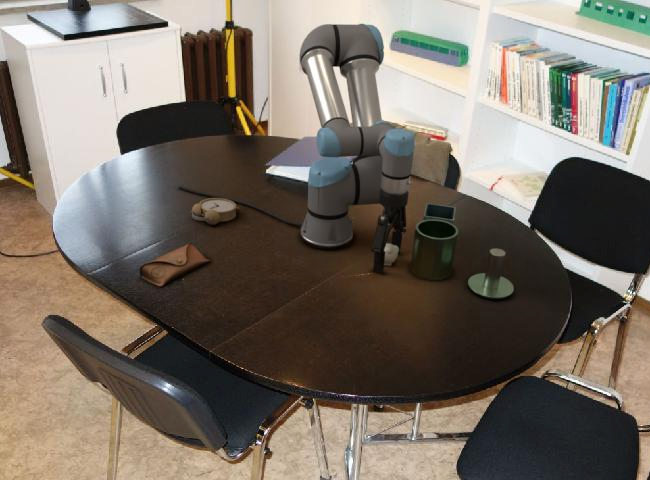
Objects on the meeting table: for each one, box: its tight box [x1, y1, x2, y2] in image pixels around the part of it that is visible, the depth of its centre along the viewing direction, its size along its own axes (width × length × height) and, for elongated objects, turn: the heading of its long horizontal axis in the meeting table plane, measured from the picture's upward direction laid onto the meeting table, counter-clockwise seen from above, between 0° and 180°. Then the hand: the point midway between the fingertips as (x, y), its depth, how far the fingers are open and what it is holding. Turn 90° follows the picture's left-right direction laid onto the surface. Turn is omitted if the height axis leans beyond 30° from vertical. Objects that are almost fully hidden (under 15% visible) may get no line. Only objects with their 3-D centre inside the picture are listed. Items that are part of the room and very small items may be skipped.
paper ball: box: [384, 242, 399, 266], centre depth 190 cm, size 6×6×6 cm
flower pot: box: [423, 202, 457, 225], centre depth 203 cm, size 9×9×9 cm
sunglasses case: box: [139, 242, 211, 287], centre depth 182 cm, size 18×7×7 cm, turn 144°
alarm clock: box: [190, 197, 240, 226], centre depth 208 cm, size 11×5×15 cm
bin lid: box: [467, 248, 515, 300], centre depth 180 cm, size 12×12×11 cm
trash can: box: [410, 219, 459, 281], centre depth 186 cm, size 11×11×13 cm
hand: (386, 262), depth 192 cm, fingers open, 11 cm apart
